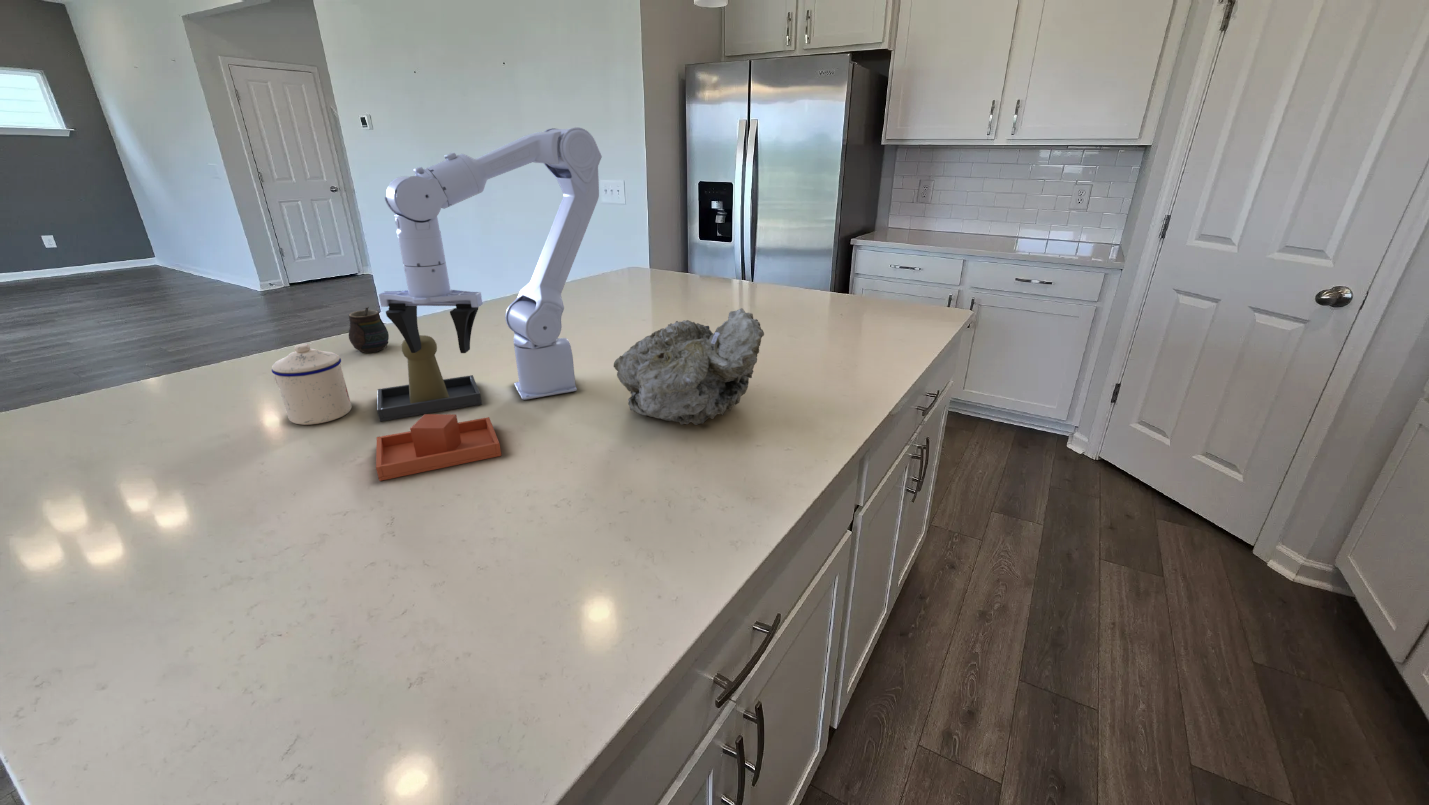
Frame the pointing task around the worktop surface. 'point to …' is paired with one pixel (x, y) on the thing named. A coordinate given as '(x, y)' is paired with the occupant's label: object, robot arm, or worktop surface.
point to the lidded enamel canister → (312, 385)
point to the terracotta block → (435, 434)
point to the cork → (424, 372)
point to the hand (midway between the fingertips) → (440, 351)
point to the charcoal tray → (398, 401)
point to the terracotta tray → (401, 458)
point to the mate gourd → (367, 331)
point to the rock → (691, 368)
